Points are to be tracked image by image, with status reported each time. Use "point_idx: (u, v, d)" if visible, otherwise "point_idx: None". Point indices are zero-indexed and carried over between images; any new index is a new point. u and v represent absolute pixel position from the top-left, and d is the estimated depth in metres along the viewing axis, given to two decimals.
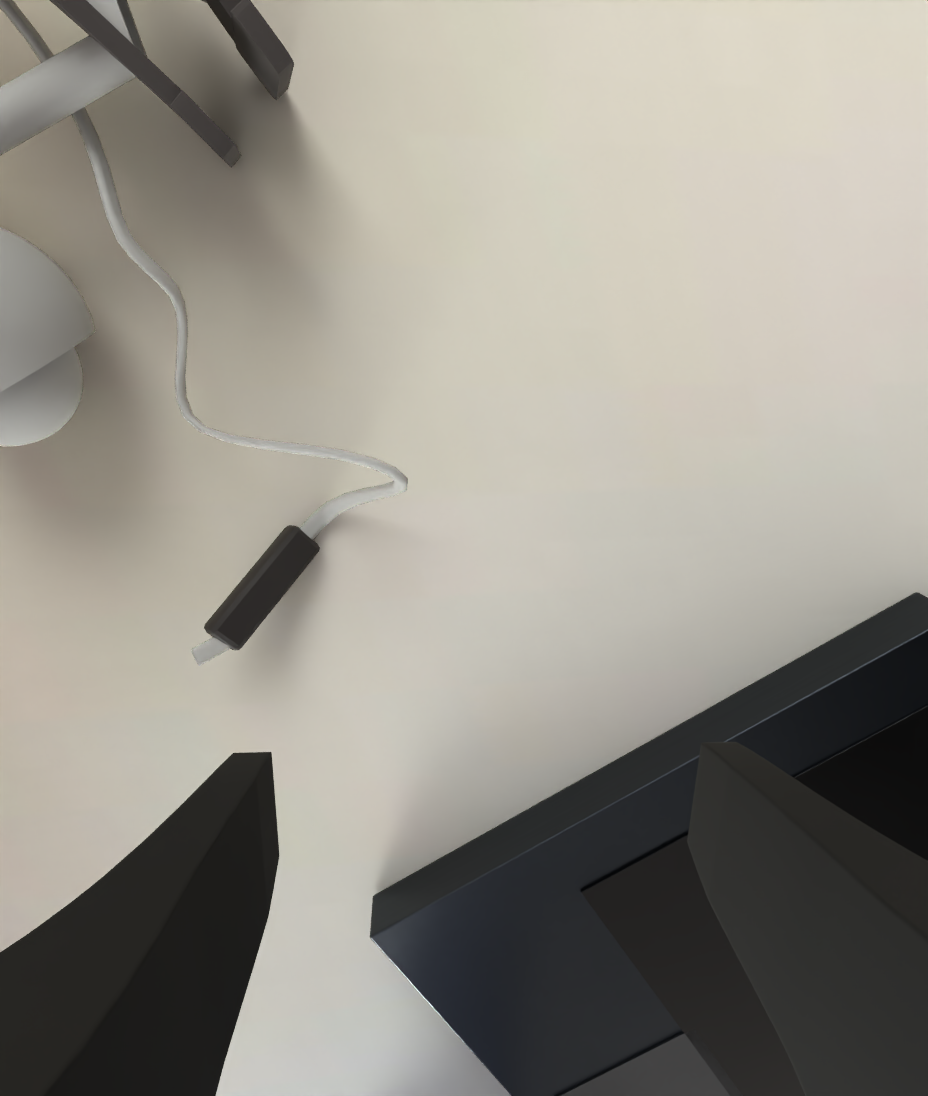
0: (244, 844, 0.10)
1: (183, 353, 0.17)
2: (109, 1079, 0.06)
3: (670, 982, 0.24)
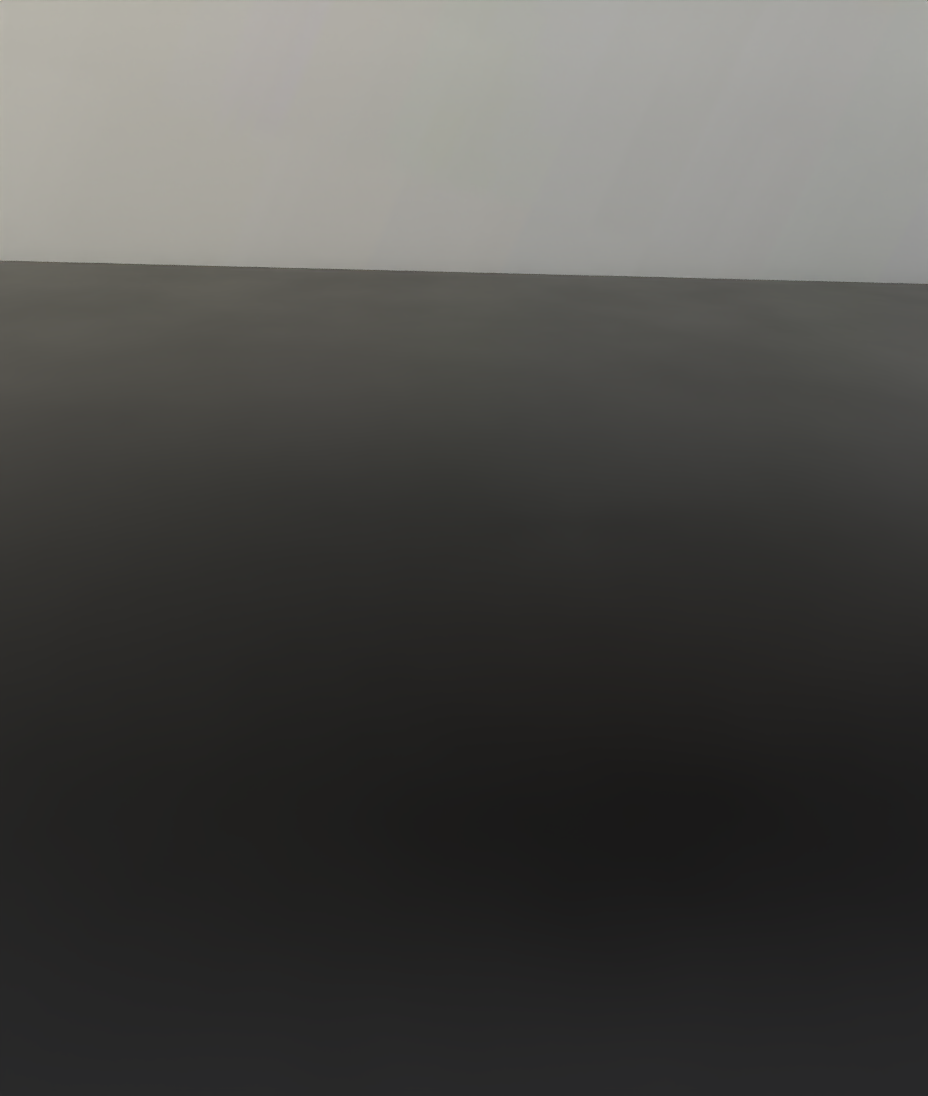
0: None
1: None
2: None
3: None
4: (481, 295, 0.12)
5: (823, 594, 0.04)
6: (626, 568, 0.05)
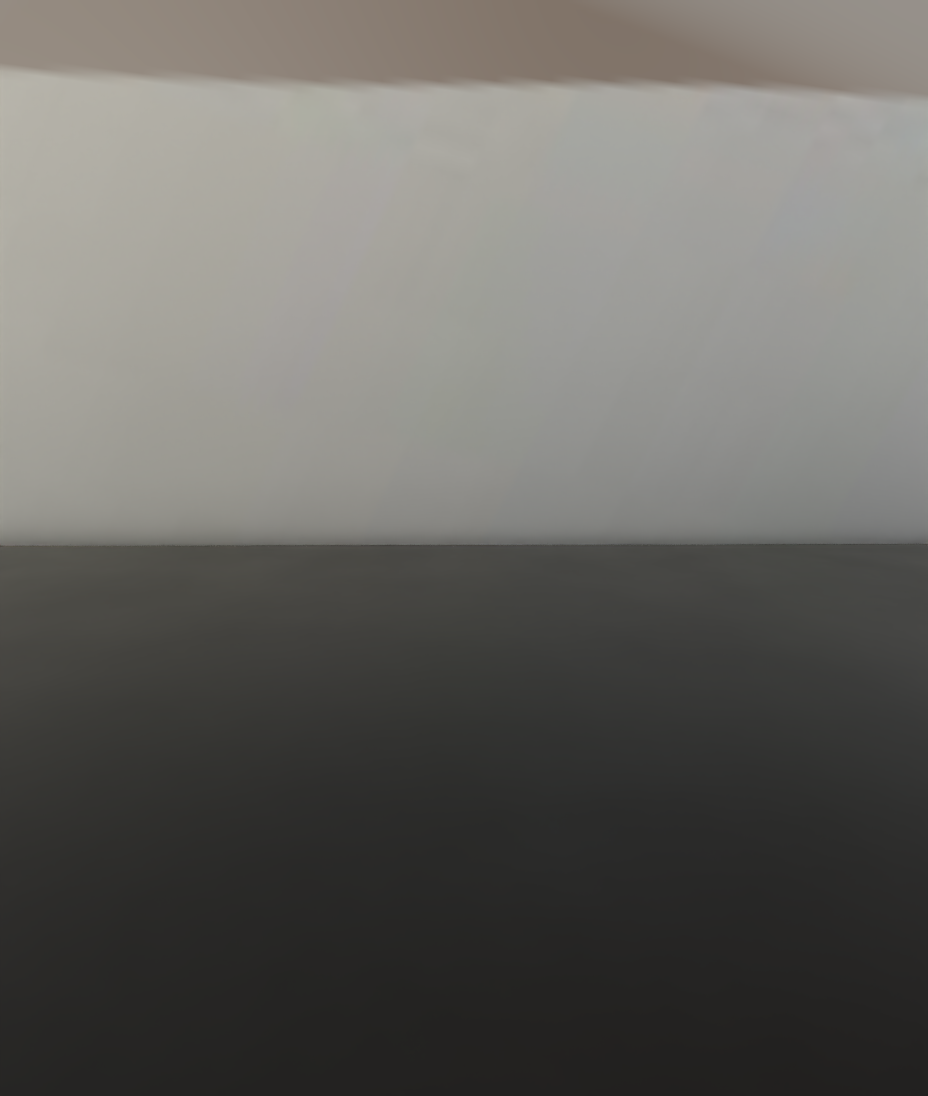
0: None
1: None
2: None
3: None
4: (473, 569, 0.14)
5: (772, 883, 0.05)
6: (600, 859, 0.05)
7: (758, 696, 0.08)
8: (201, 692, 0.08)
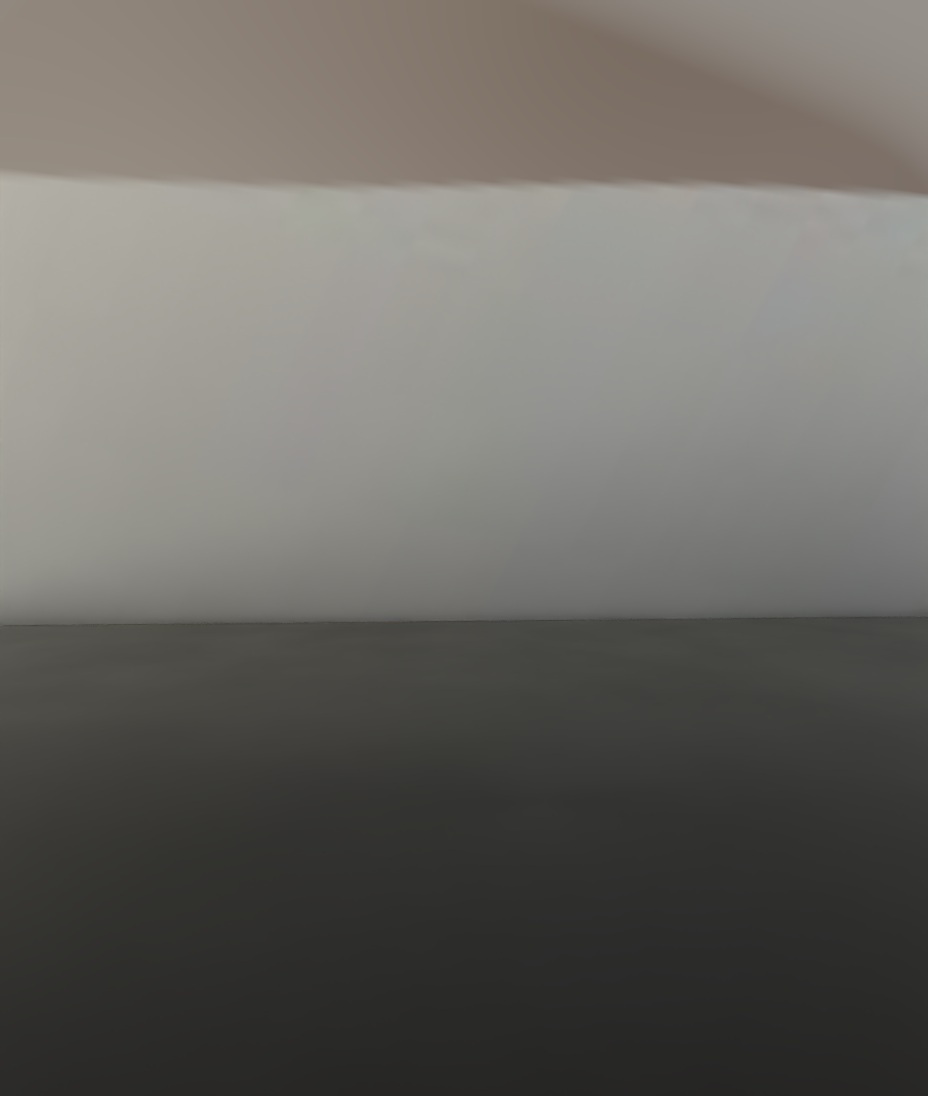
0: None
1: None
2: None
3: None
4: (471, 637, 0.15)
5: (745, 843, 0.06)
6: (586, 830, 0.06)
7: (738, 721, 0.09)
8: (214, 723, 0.09)
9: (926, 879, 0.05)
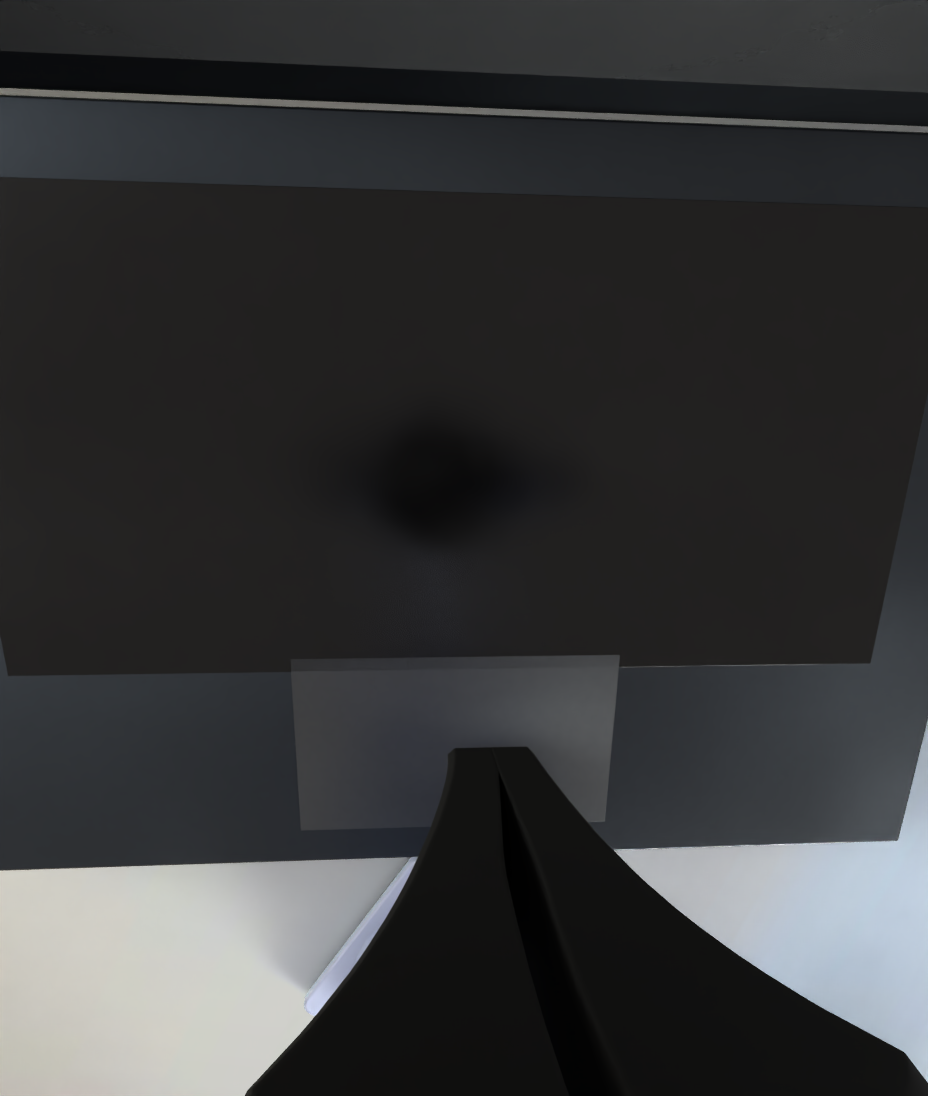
0: None
1: None
2: None
3: (200, 651, 0.20)
4: None
5: None
6: None
7: None
8: None
9: None
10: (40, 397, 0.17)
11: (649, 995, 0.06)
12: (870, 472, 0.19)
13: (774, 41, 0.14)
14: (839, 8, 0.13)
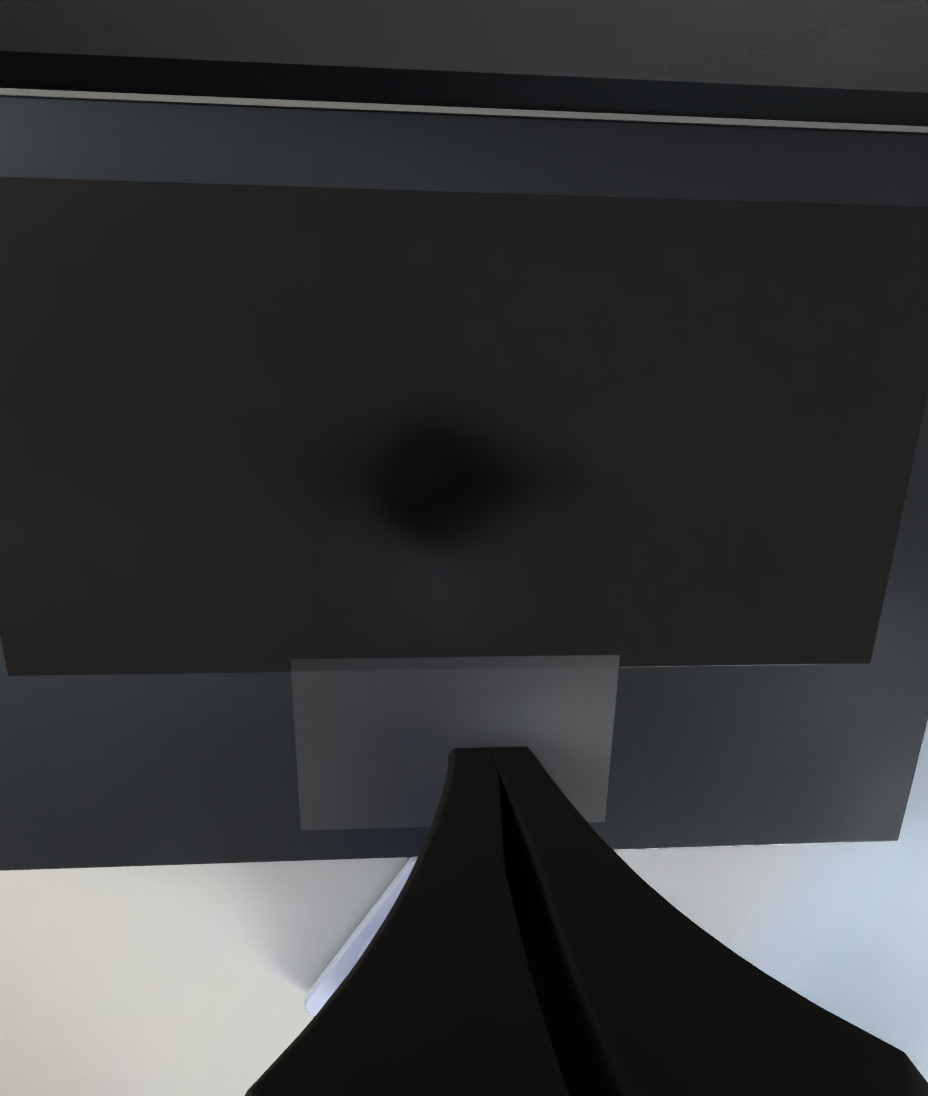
0: None
1: None
2: None
3: (200, 651, 0.20)
4: None
5: None
6: None
7: None
8: None
9: None
10: (40, 397, 0.17)
11: (649, 995, 0.06)
12: (870, 472, 0.19)
13: (774, 41, 0.14)
14: (839, 8, 0.13)
